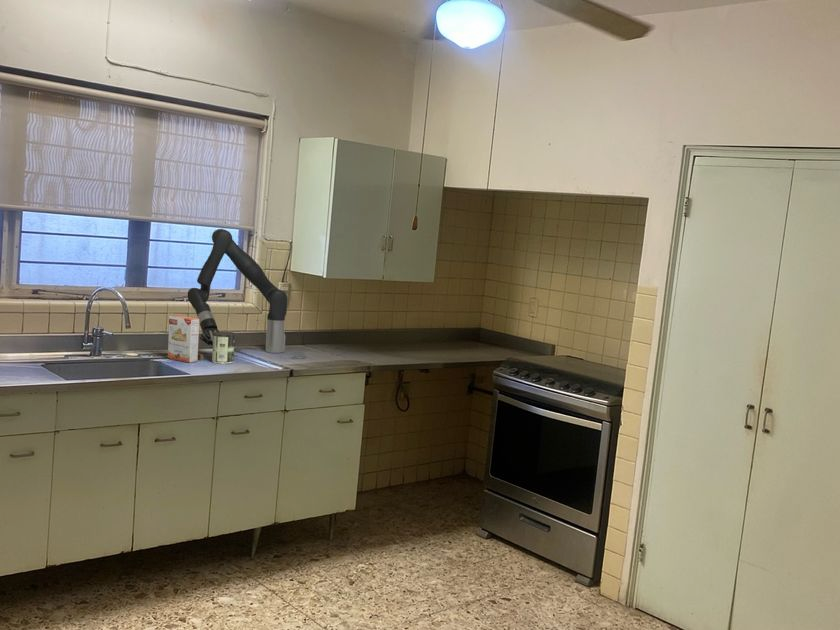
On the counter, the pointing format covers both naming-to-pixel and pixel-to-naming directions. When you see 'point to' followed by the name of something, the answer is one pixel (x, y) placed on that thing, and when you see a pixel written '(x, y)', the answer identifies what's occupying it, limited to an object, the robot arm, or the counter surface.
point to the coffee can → (223, 347)
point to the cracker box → (183, 338)
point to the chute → (200, 356)
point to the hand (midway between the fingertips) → (217, 350)
